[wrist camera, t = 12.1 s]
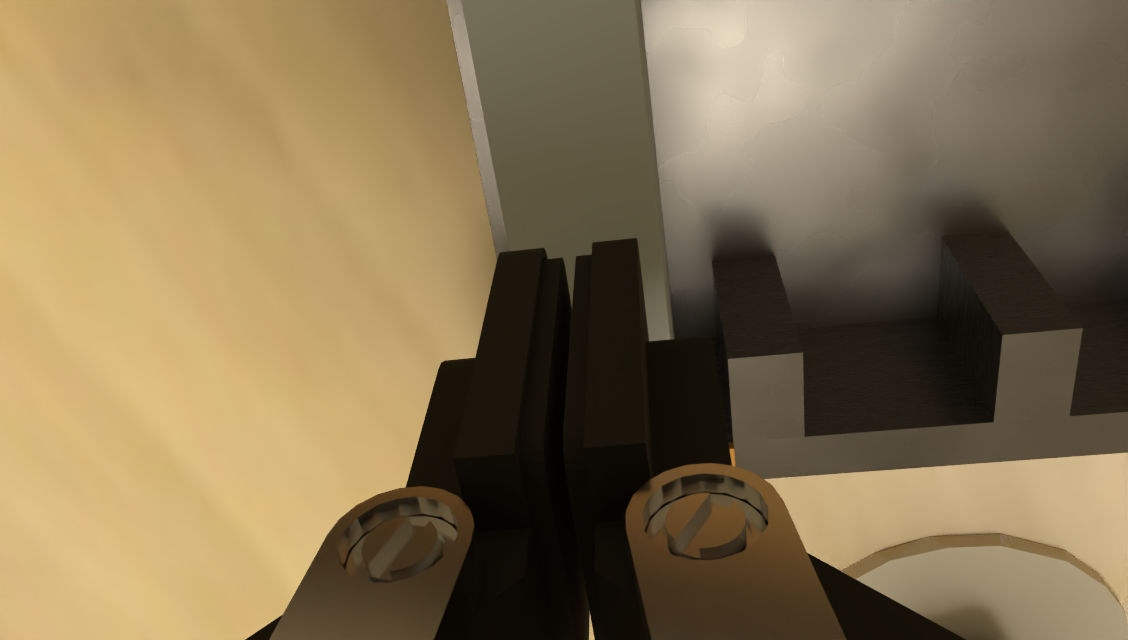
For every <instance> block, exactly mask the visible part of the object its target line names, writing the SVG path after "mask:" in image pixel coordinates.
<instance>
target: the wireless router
mask: <svg viewBox="0 0 1128 640" xmlns="http://www.w3.org/2000/svg"><path fill="white" fill-rule="evenodd" d="M841 572H843V573H845V574H847V575H849V576H851V577H852V578H854V579H856V580H858V581H860V582H862V583H863V584H865V585H867V586H869V587H871V588H873V589H874V590H876V591H878V592H880V593H882V594H884V595H885V596H887V597H889V598H891V599H893V600H895V601H896V602H898V603H900V604H902V605H904V606H906V607H907V608H909V609H911V610H913V611H915V612H917V613H918V614H920V615H922V616H924V617H926V618H928V619H929V620H931V621H933V622H935V623H937V624H939V625H940V626H942V627H944V628H946V629H948V630H950V631H951V632H953V633H955V634H957V635H959V636H961V637H962V638H964V639H966V640H1128V623H1127V619H1126V614H1125V611H1124V609H1123V607H1122V606H1121V604H1120V602H1119V601H1118V599H1117V598H1116V596H1115V595H1114V594H1113V592H1112V591H1111V590H1110V588H1109V587H1108V586H1107V584H1106V583H1105V582H1104V580H1103V579H1102V578H1101V576H1100V575H1099V574H1098V573H1097V572H1095V571H1094V570H1092V569H1091V568H1090V567H1088V566H1087V565H1085V564H1084V563H1082V562H1081V561H1080V560H1078V559H1077V558H1075V557H1074V556H1072V555H1071V554H1070V553H1068V552H1067V551H1065V550H1061V549H1057V548H1054V547H1050V546H1046V545H1042V544H1039V543H1035V542H1031V541H1027V540H1024V539H1020V538H1016V537H1012V536H1009V535H1005V534H977V535H954V536H930V537H925V538H921V539H918V540H915V541H912V542H908V543H905V544H902V545H899V546H895V547H892V548H889V549H886V550H883V551H879V552H876V553H873V554H872V555H870V556H868V557H866V558H864V559H862V560H861V561H859V562H857V563H855V564H853V565H851V566H849V567H848V568H846V569H844V570H842V571H841Z"/></svg>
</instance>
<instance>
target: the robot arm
mask: <svg viewBox="0 0 1128 640" xmlns="http://www.w3.org/2000/svg"><path fill="white" fill-rule="evenodd" d="M589 613H590V615H591V621H592V626H593V632H594V637H595V640H966V639H964V638H962V637H961V636H959V635H957V634H955V633H953V632H951V631H950V630H948V629H946V628H944V627H942V626H940V625H939V624H937V623H935V622H933V621H931V620H929V619H928V618H926V617H924V616H922V615H920V614H918V613H917V612H915V611H913V610H911V609H909V608H907V607H906V606H904V605H902V604H900V603H898V602H896V601H895V600H893V599H891V598H889V597H887V596H885V595H884V594H882V593H880V592H878V591H876V590H874V589H873V588H871V587H869V586H867V585H865V584H863V583H862V582H860V581H858V580H856V579H854V578H852V577H851V576H849V575H847V574H845V573H843V572H841V571H840V570H838V569H836V568H834V567H832V566H830V565H829V564H827V563H825V562H823V561H821V560H819V559H817V558H816V557H814V556H812V555H810V554H808V553H807V552H806V550H805V547H804V545H803V543H802V541H801V539H800V536H799V534H798V532H797V530H796V528H795V525H794V523H793V521H792V519H791V517H790V514H789V512H788V510H787V508H786V506H785V503H784V501H783V500H782V498H781V497H780V495H779V494H778V493H777V491H776V490H775V488H774V487H773V486H772V485H771V484H770V483H768V482H767V481H765V480H764V479H762V478H761V477H760V476H758V475H757V474H755V473H752V472H750V471H747V470H744V469H741V468H739V467H736V466H732V461H731V455H730V449H729V443H728V436H727V430H726V424H725V418H724V412H723V405H722V399H721V393H720V387H719V381H718V374H717V368H716V362H715V356H714V350H713V343H712V338H711V336H701V337H690V338H680V339H669V340H659V341H649V335H648V326H647V317H646V309H645V300H644V291H643V282H642V273H641V264H640V256H639V247H638V240H637V238H630V239H621V240H611V241H602V242H593V243H592V254H591V255H582V256H576V261H575V275H574V288H573V302H572V306H571V300H570V294H569V287H568V281H567V274H566V268H565V263H564V260H563V258H553V259H548V257H547V253H546V250H545V248H536V249H527V250H517V251H508V252H500V253H499V255H498V259H497V264H496V268H495V273H494V277H493V282H492V286H491V291H490V295H489V300H488V304H487V309H486V313H485V318H484V322H483V327H482V331H481V336H480V340H479V345H478V349H477V354H476V358H469V359H458V360H448V361H444V362H442V363H441V365H440V367H439V369H438V373H437V376H436V380H435V384H434V387H433V391H432V395H431V398H430V402H429V405H428V409H427V413H426V416H425V420H424V424H423V427H422V431H421V434H420V438H419V442H418V445H417V449H416V452H415V456H414V460H413V463H412V467H411V471H410V474H409V478H408V481H407V485H406V488H399V489H395V490H392V491H388V492H385V493H381V494H378V495H376V496H374V497H372V498H370V499H368V500H366V501H364V502H362V503H360V504H358V505H356V506H355V507H354V508H353V509H351V510H350V511H349V512H348V513H346V514H345V515H344V516H343V517H341V518H340V519H339V520H338V522H337V523H336V524H335V526H334V527H333V528H332V529H331V531H330V532H329V533H328V535H327V536H326V538H325V540H324V542H323V544H322V545H321V547H320V549H319V551H318V553H317V554H316V556H315V558H314V560H313V562H312V563H311V565H310V567H309V569H308V571H307V572H306V574H305V576H304V578H303V580H302V581H301V583H300V585H299V587H298V589H297V590H296V592H295V594H294V596H293V598H292V599H291V601H290V603H289V605H288V606H287V608H286V610H285V612H284V614H283V615H282V616H280V617H279V618H277V619H276V620H274V621H273V622H271V623H270V624H268V625H267V626H265V627H264V628H262V629H261V630H259V631H258V632H256V633H255V634H253V635H252V636H250V637H249V638H247V639H246V640H589Z"/></svg>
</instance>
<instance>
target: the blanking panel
mask: <svg viewBox="0 0 1128 640" xmlns="http://www.w3.org/2000/svg"><path fill="white" fill-rule="evenodd" d="M461 2H462V7H463V12H464V18H465V23H466V28H467V33H468V38H469V44H470V49H471V54H472V59H473V64H474V69H475V75H476V80H477V85H478V90H479V95H480V101H481V106H482V111H483V116H484V121H485V126H486V132H487V137H488V142H489V147H490V152H491V158H492V163H493V168H494V173H495V178H496V183H497V189H498V194H499V199H500V204H501V209H502V215H503V220H504V225H505V230H506V235H507V240H508V246H509V251H517V250H527V249H536V248H545V250H546V253H547V257H548V259H553V258H563V260H564V263H565V268H566V274H567V281H568V287H569V294H570V300H571V306H572V302H573V288H574V275H575V261H576V256H582V255H591V254H592V243H593V242H602V241H611V240H621V239H630V238H637V240H638V247H639V256H640V264H641V273H642V282H643V291H644V300H645V309H646V317H647V326H648V335H649V341H659V340H669V339H675V334H674V322H673V313H672V303H671V293H670V283H669V273H668V264H667V254H666V244H665V234H664V224H663V215H662V205H661V195H660V185H659V175H658V166H657V156H656V146H655V136H654V126H653V116H652V107H651V97H650V87H649V77H648V67H647V58H646V48H645V38H644V28H643V18H642V9H641V0H461Z"/></svg>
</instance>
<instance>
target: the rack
mask: <svg viewBox="0 0 1128 640" xmlns="http://www.w3.org/2000/svg"><path fill="white" fill-rule="evenodd" d="M446 2H447V7H448V12H449V17H450V22H451V27H452V32H453V37H454V42H455V47H456V53H457V58H458V63H459V68H460V73H461V78H462V83H463V88H464V93H465V98H466V103H467V109H468V114H469V119H470V124H471V129H472V134H473V139H474V144H475V149H476V154H477V159H478V165H479V170H480V175H481V180H482V185H483V190H484V195H485V200H486V205H487V210H488V215H489V221H490V226H491V231H492V236H493V241H494V246H495V251H496V256H497V259H498V255H499V253H500V252H508V251H509V246H508V240H507V235H506V230H505V225H504V220H503V215H502V209H501V204H500V199H499V194H498V189H497V183H496V178H495V173H494V168H493V163H492V158H491V152H490V147H489V142H488V137H487V132H486V126H485V121H484V116H483V111H482V106H481V101H480V95H479V90H478V85H477V80H476V75H475V69H474V64H473V59H472V54H471V49H470V44H469V38H468V33H467V28H466V23H465V18H464V12H463V7H462V2H461V0H446ZM641 9H642V18H643V28H644V38H645V48H646V58H647V67H648V77H649V87H650V97H651V107H652V116H653V126H654V136H655V146H656V156H657V166H658V175H659V185H660V195H661V205H662V215H663V224H664V234H665V244H666V254H667V264H668V273H669V283H670V293H671V303H672V313H673V322H674V334H675V339H680V338H690V337H701V336H711V338H712V343H713V350H714V356H715V362H716V368H717V374H718V381H719V387H720V393H721V399H722V405H723V412H724V418H725V424H726V430H727V436H728V443H729V449H730V455H731V461H732V466H736V467H739V468H741V469H744V470H747V471H750V472H752V473H755V474H757V475H758V476H760V477H761V478H762V479H769V478H783V477H797V476H810V475H824V474H838V473H852V472H865V471H879V470H893V469H906V468H920V467H934V466H948V465H961V464H975V463H989V462H1002V461H1016V460H1030V459H1044V458H1057V457H1071V456H1085V455H1098V454H1112V453H1126V452H1128V0H641Z"/></svg>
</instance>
